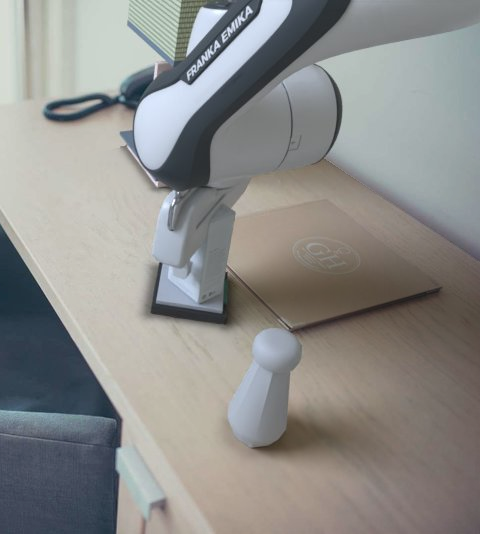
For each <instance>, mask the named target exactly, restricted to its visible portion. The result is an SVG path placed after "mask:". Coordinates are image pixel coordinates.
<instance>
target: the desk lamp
mask: <svg viewBox="0 0 480 534" xmlns="http://www.w3.org/2000/svg"><path fill="white" fill-rule="evenodd" d="M211 1H214V0H129V3H128V15H127V24H126V25H127V26H126V27H128V28H129V29H131V30H132V31H133V32H134V33H135V34H136V35H137V36H138V37H139V38H140V39H141V40H142V41H143V42H144V43H146V44H147V45H148V46H149V47H150V48H151V49H152V50H153V51H154V52H155V53H157V54H158V55H159V56H160V57H161V58H162V59H164V60H161V61H159V60H158V61H155V62H154V63H155V64H154V71H153V72H154V73H153V80H154V79H155V78H156V77H157V76H158V75H159V74H160V73H162V72H165V71H168V70H171V69H173V68H175V67H176V66H178V65H179V64H180V63H181V62H182V61H183V60H184V59H185V58H186V54H187V49H188V44H189V40H190V36H191V32H192V29H193V25H194V22H195V19H196V17H197V14H198V12H199V10H200V8H201V7H202V6H204V5H205V4H207V3H208V2H211ZM119 136H120V137H121V139H122V140H123V141H124V142H125V144H126V148H127V149H128V150H129V151H130V153H131V154H132V156H133V157H134V159H135V160H136V161H137V162H138V164H139V165H140V167H141V168H142V169H143V171H144V172H145V173H146V174H147V176H148V177H149V178H150V180H151V181H152V182H153V184H154V185H155V187H156V188H157V189H159V188H166V187H167V186H166V185H164V184H163V183H161V182H160V181H158V180H157V179H156V178H154V177H153V176H152V175H151V174H150V173H149V172H148V171H147V170H146V169H145V168H144V167H143V166H142V165H141V163H140V161H139V159H138V157H137V154H136V151H135V147H134V142H133V129H131V130H123V131H119Z"/></svg>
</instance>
